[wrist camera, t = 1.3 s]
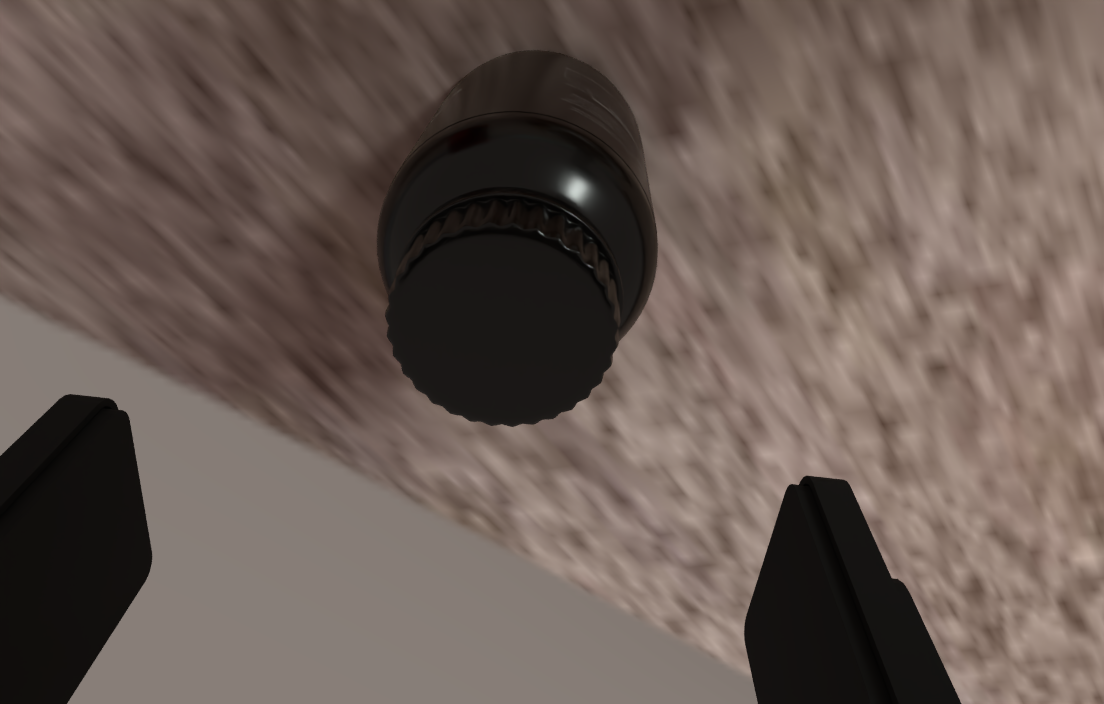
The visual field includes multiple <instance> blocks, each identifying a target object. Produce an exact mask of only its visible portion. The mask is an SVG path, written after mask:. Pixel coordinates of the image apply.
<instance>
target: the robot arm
mask: <svg viewBox="0 0 1104 704" xmlns="http://www.w3.org/2000/svg"><path fill="white" fill-rule="evenodd" d="M151 564H152V550H151V544H150V538H149V532H148V527H147V521H146V514H145V509H144V503H143V497H142V491H141V485H140V479H139V473H138V467H137V461H136V455H135V449H134V443H133V437H132V432H131V426H130V420H129V417H128V414H127V413H126V412H124V411H123V410H118V407H117V405H116V403H115V402H114V401H113V400H111V399H109V398H100V397H91V396H82V395H72V394H69V395H65V396H63V397H62V398H60V399H59V400H58V401H57V402H56V403H55V404H54V405H53V406H52V407H51V408H50V409H49V410H48V411H47V412H46V413H45V414H44V415H43V416H42V417H41V418H39V419H38V420H37V421H36V422H35V423H34V424H33V425H32V426H31V427H30V428H29V429H28V430H27V431H26V432H25V433H24V434H23V435H22V436H21V437H20V438H19V439H18V440H17V441H16V442H14V443H13V444H12V445H11V446H10V447H9V448H8V449H7V450H6V451H5V452H4V453H3V454H2V455H1V456H0V704H67V703H68V701H69V700H70V698H71V696H72V695H73V693H74V692H75V690H76V689H77V687H78V686H79V684H80V682H81V681H82V679H83V678H84V676H85V675H86V673H87V671H88V670H89V668H90V667H91V665H92V663H93V662H94V661H95V659H96V657H97V656H98V654H99V653H100V651H101V650H102V648H103V646H104V645H105V643H106V642H107V640H108V638H109V637H110V635H111V634H112V632H113V631H114V629H115V628H116V626H117V625H118V623H119V621H120V620H121V618H122V617H123V615H124V614H125V612H126V611H127V609H128V607H129V606H130V604H131V603H132V601H133V600H134V598H135V596H136V595H137V593H138V592H139V590H140V589H141V587H142V586H143V584H144V582H145V581H146V579H147V577H148V574H149V572H150V568H151ZM744 637H745V645H746V650H747V655H748V659H749V664H750V668H751V673H752V678H753V682H754V687H755V692H756V696H757V701H758V704H961V702H960V700H959V698H958V695H957V693H956V691H955V689H954V687H953V685H952V683H951V680H950V678H949V676H948V674H947V672H946V670H945V668H944V665H943V663H942V661H941V659H940V657H939V655H938V653H937V650H936V648H935V646H934V644H933V642H932V640H931V637H930V635H929V633H928V631H927V629H926V627H925V625H924V622H923V620H922V618H921V616H920V614H919V612H918V610H917V607H916V605H915V603H914V601H913V599H912V597H911V595H910V593H909V591H908V589H907V588H906V586H905V585H904V583H902V582H901V581H900V580H898V579H893V578H891V576H890V573H889V571H888V569H887V567H886V564H885V562H884V560H883V558H882V556H881V553H880V551H879V549H878V547H877V544H876V542H875V540H874V538H873V536H872V533H871V531H870V529H869V527H868V524H867V522H866V520H865V518H864V516H863V513H862V511H861V509H860V507H859V504H858V502H857V500H856V498H855V495H854V493H853V491H852V489H851V487H850V485H849V483H848V482H847V481H845V480H841V479H832V478H823V477H814V476H805V477H803V479H802V480H801V481H800V484H799V485H794V484H791V485H789V486H788V488H787V490H786V492H785V495H784V498H783V501H782V504H781V508H780V511H779V514H778V517H777V520H776V524H775V527H774V530H773V533H772V536H771V539H770V543H769V546H768V549H767V552H766V555H765V558H764V562H763V565H762V568H761V571H760V574H759V577H758V581H757V584H756V587H755V590H754V593H753V596H752V600H751V603H750V606H749V609H748V612H747V616H746V620H745V629H744Z"/></svg>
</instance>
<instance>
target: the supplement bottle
mask: <svg viewBox="0 0 1104 704" xmlns="http://www.w3.org/2000/svg"><path fill="white" fill-rule="evenodd" d="M657 253H658V243H657V230H656V223H655V217H654V211H653V205H652V200H651V194H650V188H649V182H648V176H647V170H646V164H645V158H644V152H643V146H642V141H641V137H640V133H639V129H638V126H637V123H636V120H635V118H634V115H633V113H632V111H631V109H630V107H629V106H628V104H627V102H626V101H625V99H624V98H623V96H622V95H621V93H620V92H619V91H618V90H617V88H616V87H615V86H614V85H613V84H612V83H611V82H610V81H609V80H608V79H607V78H606V77H605V76H603V75H602V74H601V73H600V72H599V71H597V70H596V69H594V68H593V67H591V66H590V65H588V64H586V63H584V62H582V61H580V60H578V59H575V58H573V57H570V56H567V55H564V54H560V53H555V52H550V51H540V50H531V51H520V52H514V53H509V54H505V55H502V56H499V57H496V58H494V59H492V60H490V61H488V62H486V63H484V64H482V65H481V66H479V67H477V68H476V69H475V70H473V71H472V72H470V73H469V74H468V75H467V76H466V77H464V78H463V79H462V80H461V81H460V82H459V83H458V84H457V85H456V87H455V88H454V89H453V90H452V91H451V93H450V94H449V95H448V96H447V98H446V99H445V101H444V102H443V104H442V105H441V106H440V108H439V109H438V111H437V113H436V114H435V116H434V117H433V119H432V120H431V122H430V123H429V125H428V126H427V128H426V129H425V131H424V132H423V134H422V136H421V137H420V139H419V140H418V142H417V143H416V145H415V146H414V148H413V149H412V151H411V152H410V154H409V155H408V157H407V158H406V160H405V162H404V163H403V165H402V166H401V168H400V169H399V171H398V173H397V174H396V176H395V178H394V180H393V182H392V184H391V186H390V188H389V190H388V193H387V195H386V198H385V200H384V203H383V206H382V209H381V213H380V217H379V223H378V231H377V255H378V262H379V268H380V272H381V276H382V280H383V283H384V285H385V288H386V291H387V293H388V298H389V305H388V307H387V309H386V312H385V317H386V320H387V323H388V325H389V327H388V331H387V337H388V339H389V341H390V342H391V343H392V345H393V356H394V357H395V358H396V359H397V360H398V361H399V362H400V363H401V367H402V371H403V374H405V375H406V376H407V377H408V378H410V379H411V380H412V381H413V384H414V386H415V388H416V389H417V390H418V391H420V392H422V393H424V394H426V395H427V396H428V398H429V399H430V401H431V402H432V403H434V404H437V405H440V406H443V407H444V408H445V409H446V410H447V411H448V412H449V413H450V414H454V415H461V416H463V417H464V418H466V419H467V420H469V421H473V422H477V421H481V422H484V423H486V424H488V425H491V426H494V425H499V424H503V425H507V426H511V427H514V426H517V425H519V424H536V423H538V422H539V421H541V420H544V419H554V418H555V417H556V416H558V414H560V413H561V412H565V411H569V410H572V409H573V408H574V407H575V405H576V403H577V402H579V401H582V400H584V399H586V398H588V397H589V395H590V393H591V390H592V389H593V388H594V387H596V386H597V385H599V384H600V383H601V382H602V379H603V375H604V372H605V371H606V370H608V368H609V367H610V366H611V365H612V360H613V353H614V351H615V350H616V348H617V346H618V344H619V341H620V340H621V339H622V338H623V337H624V336H625V335H626V334H627V332H628V331H629V330H630V329H631V327H632V326H633V325H634V324H635V322H636V320H637V319H638V317H639V316H640V314H641V312H642V310H643V309H644V307H645V305H646V303H647V300H648V298H649V295H650V292H651V290H652V286H653V283H654V279H655V274H656V267H657Z"/></svg>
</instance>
